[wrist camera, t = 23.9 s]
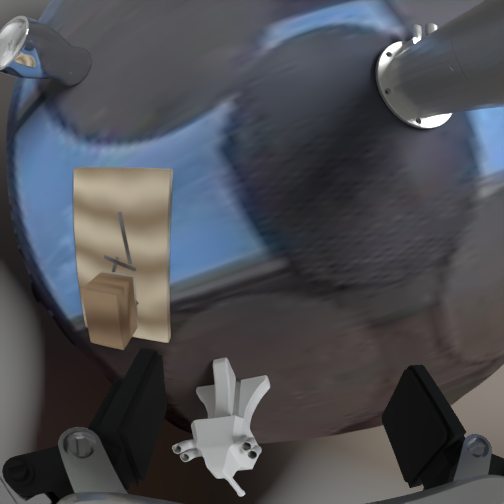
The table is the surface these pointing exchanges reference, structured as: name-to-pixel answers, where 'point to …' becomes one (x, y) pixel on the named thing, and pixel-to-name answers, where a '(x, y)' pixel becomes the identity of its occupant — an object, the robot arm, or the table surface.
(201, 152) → the table surface
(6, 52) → the beer glass
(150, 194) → the board
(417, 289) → the table surface
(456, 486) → the robot arm
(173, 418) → the table surface
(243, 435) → the toy gun turret
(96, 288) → the block
